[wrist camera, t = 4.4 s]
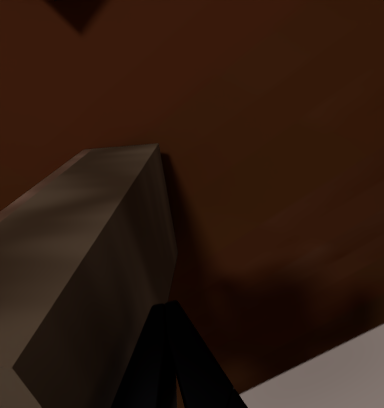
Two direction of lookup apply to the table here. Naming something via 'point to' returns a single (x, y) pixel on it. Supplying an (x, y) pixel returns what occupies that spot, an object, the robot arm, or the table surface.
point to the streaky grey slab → (82, 276)
